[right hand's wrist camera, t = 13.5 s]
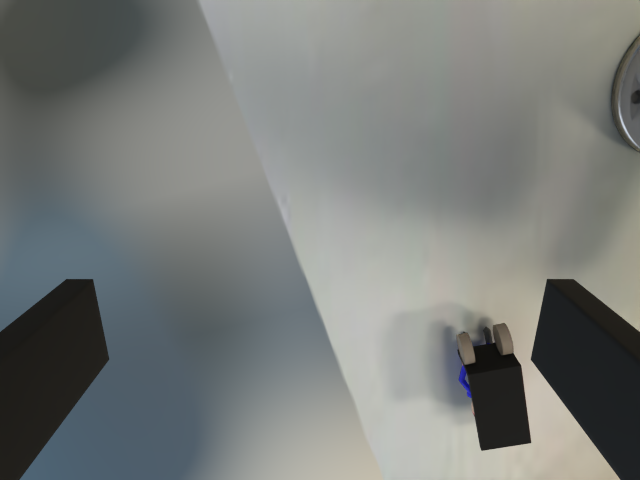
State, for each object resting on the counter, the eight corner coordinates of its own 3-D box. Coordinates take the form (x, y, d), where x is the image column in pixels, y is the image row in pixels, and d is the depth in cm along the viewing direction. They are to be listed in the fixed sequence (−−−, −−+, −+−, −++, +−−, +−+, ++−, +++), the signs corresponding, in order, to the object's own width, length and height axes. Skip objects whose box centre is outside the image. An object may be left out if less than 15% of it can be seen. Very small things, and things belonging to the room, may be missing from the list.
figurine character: (442, 319, 56) (464, 417, 60) (458, 347, 49) (482, 457, 52) (494, 307, 56) (513, 406, 59) (518, 334, 48) (538, 446, 52)
